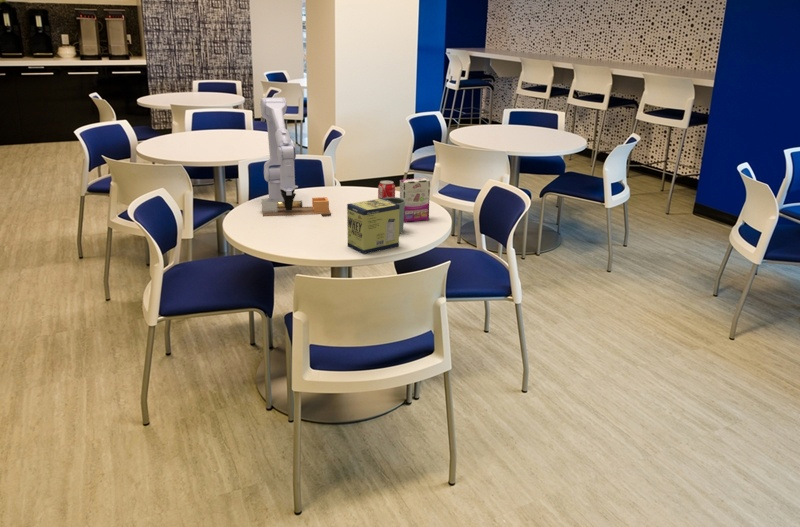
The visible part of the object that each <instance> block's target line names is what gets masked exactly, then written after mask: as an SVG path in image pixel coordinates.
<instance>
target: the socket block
mask: <svg viewBox="0 0 800 527" xmlns="http://www.w3.org/2000/svg"><path fill="white" fill-rule="evenodd" d="M311 198H312V205H311V206H312V207H313V211H314V213H316V212H329V210H330V201H329V199H328V197H324V196H323V197H318V196H317V197H311Z"/></svg>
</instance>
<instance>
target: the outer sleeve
mask: <svg viewBox="0 0 800 527" xmlns="http://www.w3.org/2000/svg"><path fill="white" fill-rule="evenodd" d="M261 211H262V213H261V214H262V215H263V214H272V213H278V208H277V199H268V198H262V199H261Z"/></svg>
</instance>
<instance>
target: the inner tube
mask: <svg viewBox="0 0 800 527" xmlns="http://www.w3.org/2000/svg"><path fill="white" fill-rule="evenodd" d="M302 207H303V200H293V205H292V208H302ZM277 208H286V207H285V202H284V201H279V202H277Z"/></svg>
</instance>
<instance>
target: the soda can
mask: <svg viewBox="0 0 800 527" xmlns="http://www.w3.org/2000/svg"><path fill="white" fill-rule="evenodd" d="M386 197H396V185H395V183H394V181H393V180H380V181H379V184H378V186H377V199H380V198H386Z"/></svg>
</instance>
